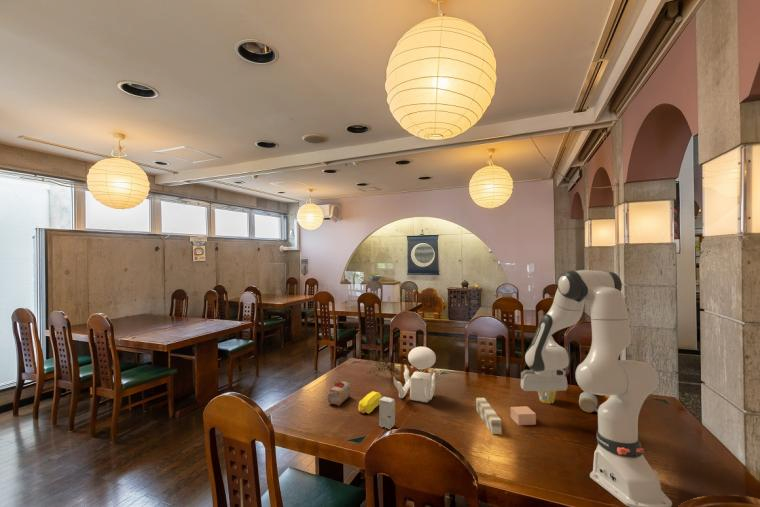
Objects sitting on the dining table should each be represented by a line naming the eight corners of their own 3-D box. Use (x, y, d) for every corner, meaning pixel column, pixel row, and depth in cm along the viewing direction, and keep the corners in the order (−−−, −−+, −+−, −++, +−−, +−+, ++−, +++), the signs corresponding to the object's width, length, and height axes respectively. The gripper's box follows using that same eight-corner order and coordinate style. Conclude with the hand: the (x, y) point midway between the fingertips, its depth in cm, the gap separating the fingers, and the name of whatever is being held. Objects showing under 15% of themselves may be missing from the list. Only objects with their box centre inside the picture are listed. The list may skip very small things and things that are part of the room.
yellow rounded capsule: (355, 414, 170) (369, 416, 167) (355, 400, 170) (368, 402, 167) (372, 400, 186) (385, 402, 183) (371, 387, 186) (384, 389, 183)
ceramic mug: (578, 411, 168) (578, 395, 168) (579, 405, 175) (579, 390, 175) (604, 417, 162) (604, 400, 162) (604, 410, 169) (604, 394, 169)
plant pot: (560, 406, 174) (560, 386, 175) (538, 404, 177) (538, 385, 177) (554, 397, 185) (554, 379, 185) (534, 396, 187) (533, 378, 187)
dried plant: (415, 347, 224) (357, 316, 239) (398, 366, 196) (333, 328, 211) (399, 387, 231) (343, 353, 246) (380, 410, 202) (318, 370, 218)
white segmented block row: (501, 434, 148) (501, 420, 148) (492, 434, 148) (491, 420, 148) (484, 409, 172) (484, 397, 172) (476, 410, 172) (476, 397, 172)
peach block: (536, 425, 156) (535, 413, 156) (518, 425, 155) (518, 414, 155) (527, 416, 164) (527, 406, 164) (510, 417, 163) (510, 406, 163)
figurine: (430, 411, 173) (431, 354, 173) (392, 404, 180) (393, 350, 180) (438, 393, 196) (439, 343, 196) (404, 388, 202) (405, 339, 202)
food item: (340, 407, 178) (340, 387, 178) (326, 405, 180) (326, 386, 181) (351, 397, 191) (351, 379, 191) (338, 395, 193) (338, 377, 193)
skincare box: (378, 427, 156) (378, 399, 156) (383, 422, 160) (383, 396, 160) (391, 430, 153) (390, 402, 153) (395, 425, 157) (395, 398, 157)
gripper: (523, 372, 157) (523, 402, 157) (569, 371, 157) (569, 402, 157) (518, 367, 163) (518, 397, 163) (561, 366, 163) (562, 396, 163)
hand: (543, 399), depth 160 cm, fingers closed
